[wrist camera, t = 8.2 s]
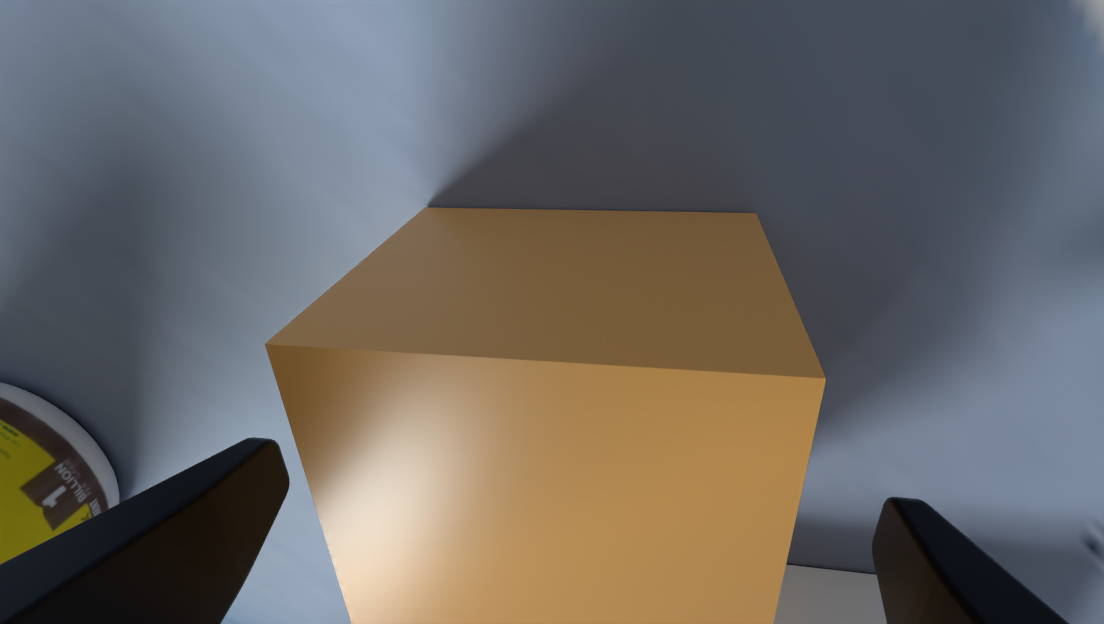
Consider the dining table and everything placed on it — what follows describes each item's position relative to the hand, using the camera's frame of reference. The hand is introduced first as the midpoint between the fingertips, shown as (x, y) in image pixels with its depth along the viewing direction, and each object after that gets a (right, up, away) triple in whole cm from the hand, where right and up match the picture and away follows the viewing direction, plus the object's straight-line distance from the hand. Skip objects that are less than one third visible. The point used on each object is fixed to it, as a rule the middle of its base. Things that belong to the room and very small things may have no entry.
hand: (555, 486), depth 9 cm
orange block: (+1, +2, +3) cm, 3 cm away
